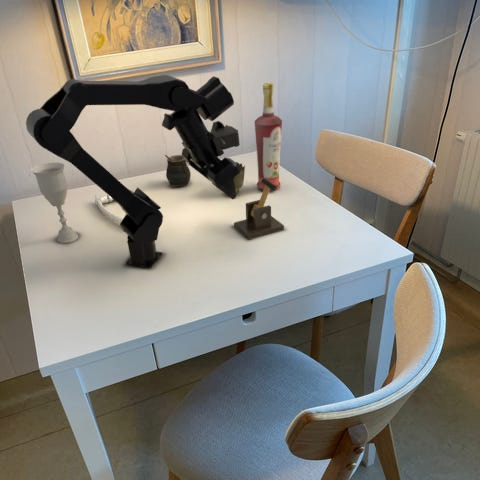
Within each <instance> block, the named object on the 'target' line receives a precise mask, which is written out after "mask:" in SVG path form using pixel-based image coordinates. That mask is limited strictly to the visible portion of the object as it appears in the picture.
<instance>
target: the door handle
mask: <svg viewBox="0 0 480 480" xmlns="http://www.w3.org/2000/svg"><path fill="white" fill-rule="evenodd" d="M94 199H95V200H94V201H95V204H96V206H97V207H98V208H99V210H100V211H101V212H102V214H103V215H105V216H106V217H107V218H108V219H109V220H111V221H113V222H115V223H116V224H118V225H120V223H121V221H122V220H123V218H124V217H123V218H122V217H121V216H118V215H116V214H114V213H113V212H111V211H109V210H108V209H107V208H106V207H105V206H104V205H103V204H107V203H110V202H113V201H115V200H114V199H113V198H111V197H110V196H109V195H108V194H107V195H103V196H102V197H101V196H100V195H99V194H98V193H95V198H94Z"/></svg>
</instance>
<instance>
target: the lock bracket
mask: <svg viewBox="0 0 480 480" xmlns="http://www.w3.org/2000/svg"><path fill="white" fill-rule="evenodd" d="M259 201H260V199H257V200H253V201H249V202H246V203H245V219H242V220H239V221H235V222H233V227H234V228H235V229H236V230H237V231H238V232H239V233H240V234H241V235H242V236H243V237H245V238H246V239H247V240H253V239H256V238H259V237H263V236H267V235H270V234H274V233H277V232H281V231H284V230H285V225H284V224H283V223H281V222H280V221H279V220H277V219H276V218H275V217H273V216H272V206H271V205H269V204H268V205H264V206H263V207H260V208H257V209H253V206H254V204H257V205H258V203H259ZM252 209H253V216H252V215H251V212H252Z"/></svg>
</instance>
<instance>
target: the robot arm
mask: <svg viewBox="0 0 480 480" xmlns="http://www.w3.org/2000/svg"><path fill="white" fill-rule="evenodd" d="M234 104H235V101H234V97H233V95H232V93H231V91H229V90H228V88H227V86H225V85H224V84H223V83H222V82H221V79H220V77H217V76H215V75H214V76H211V78H209V79H208V80H207V81H206V82H205V83H204V84H203V85H202V86H201V87H199V88H198V89H197V90H194V89H192V88H190V87H189V85H188V83H186V81H184V80H182V79H179V78H177V77H175V76H172V75H169V74H160V75H156V76H155V75H154V76H151V77H148V78H144V79H142V80H135V81H133V80H132V81H131V80H80V79H75V78H72V79H71V78H70V79H68V80H67V81H65V83H64V84H63V85H62V86H61V87H60V89H59V90H58V91H57V92H55V93H54V94H53V95H52V96H50V97H49V98H48V99H47V100H46V101H45V102H44V103H43V104H42V105H41V107H40V108H36V109H34V110H32V111H31V112H29V113H28V115H27V117H26V121H25V127H26V131H27V132H28V133H29V135H30V136H31V137H32V138H33V140H35V142H36V143H37V144H38V145H39V147H42V148H43V149H44V150H47V151H48V152H50V153H52V154H53V155H55V156H57V157H59V158H60V159H63V160H64V161H66V162H68V163H70V164H71V165H73V167H75V168H76V169H77V170H78V171H80V173H82V174H83V175H84V176H85V177H87V178H88V179H89V180H90V181H91V182H93V184H95V185H96V186H97V187H98V188H100V189H101V190H102V191H103V192H104V193H105V194H107V195H109V196H110V197H111V198H113V199H114V200H113V201H115V202H116V203H117V204H118V206H120V208H121V209H122V210H123V212H124V213H125V215H124V217H123V220H122V221H121V223H120V224H119V226H120V228H121V230H122V231H123V232H124V233H125V234H126V236H127V237H126V239H127V240H126V242H127V247H128V253H129V258H128V259H127V260H126V261H125V265H127V266H131V267H132V266H133V267H138V268H139V267H140V268H147V269H152V268H153V267H154V265H155V264H156V263H158V261H159V260H160V258H161V257H162V256H163V252H162V251H157V246H156V241H157V240H158V237H159V231H160V228H161V226H162V224H163V222H164V214H163V213H162V212H161V210H160V209H161V208H162V207H161V206H160V205H159V204H158V203H157V202H155V201H154V200H153V199H152V198H150V196H149V195H147V194H146V193H145V192H144V191H143V190H142V189H140V187H136V189H135V190H134V191H133V190H131V189H129V188H127V187H126V185H124V184H123V183H122V182H121V181H120V180H119V179H118V178H116V177H115V176H114V174H112V173H111V172H110V171H109V170H107V169H106V168H105V167H104V166H103V165H102V164H101V163H100V162H99V161H98V160H96V158H94V157H93V156H92V155H91V154H89V152H87V151H86V150H85V149H84V148H83V146H82V145H81V144H80V143H79V141H78V140H77V138H76V137H75V136H74V134H73V133H72V132H71V130H72V129H73V127H74V126H75V125H76V123H77V121H78V119H79V118H80V115H81V113H82V112H83V110H84V109H85V108H86V107H87V106H148V107H149V106H150V107H153V108H158V109H162V110H166V111H170V112H171V111H172V112H171V113H166V112H165V113H164V114H163V119H162V122H161V126H162V127H163V128H164V129H167V130H168V131H172V130H173V129H175V130H176V132H177V134H178V136H179V138H180V139H181V141H182V142H181V144H182V146H183V148H182V149H181V150H182V151H181V155H182V156H183V158H184V160H185V161H186V164H187V165H189V166H190V167H191V168H192V169H194V170H195V171H196V172H197V173H198V174H200V175H202V176H203V177H204V178H206V179H207V180H208V181H209V182H211V184H212V185H213V186H214V187H216V188H217V189H218V190H219V191H220V192H222V193H224V194H225V195H226V196H228V197H229V198H230V199H231V200H234V199H236V198H237V195H236V191H235V185H234V177H235V176H237V175H238V174H239V173H240V171H241V170H240V168H239V166H238V164H237V163H236V162H237V161H235V160H233V159H232V158H230V157H223V158H222V159H221V158H219V157H221V156H222V155H224V154H225V151H224V150H229V149H231V148H237V147H240V144H241V143H240V134H239V130H238V129H237V128H235V127H234V126H231V125H228V124H226V125H225V124H224V123H223V122H221V121H220V120H216V119H218V118H219V117H221V115H223V114H224V113H225V112H226V111H227V110H229V109H230V108H231V107H232V106H234ZM207 120H209V121H211V122H212V126H211V129H210V131H209V130H208V128H207V126H206V124H205V123H204V121H207ZM215 120H216V121H215Z"/></svg>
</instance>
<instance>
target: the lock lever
mask: <svg viewBox="0 0 480 480" xmlns="http://www.w3.org/2000/svg"><path fill="white" fill-rule="evenodd" d="M261 182H262V184H264V185H265V187H264V190H262V193H261V195H260V198H259V200H260V201H259V203H258V205H257V204H254V206H253V209H257V208H260V207H264V206H265V204H266V201H267V199H268V196H269V193H270V192H271V191H270V189H271V190H273V191H272V192H274V191H276V190H277V189H276V186H275V185H274V184H272V183H271V182H269V181H268V180H266V179H265V178H264V179H262V181H261ZM275 189H276V190H275ZM253 209H252V212H251V215H252V216H253Z"/></svg>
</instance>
